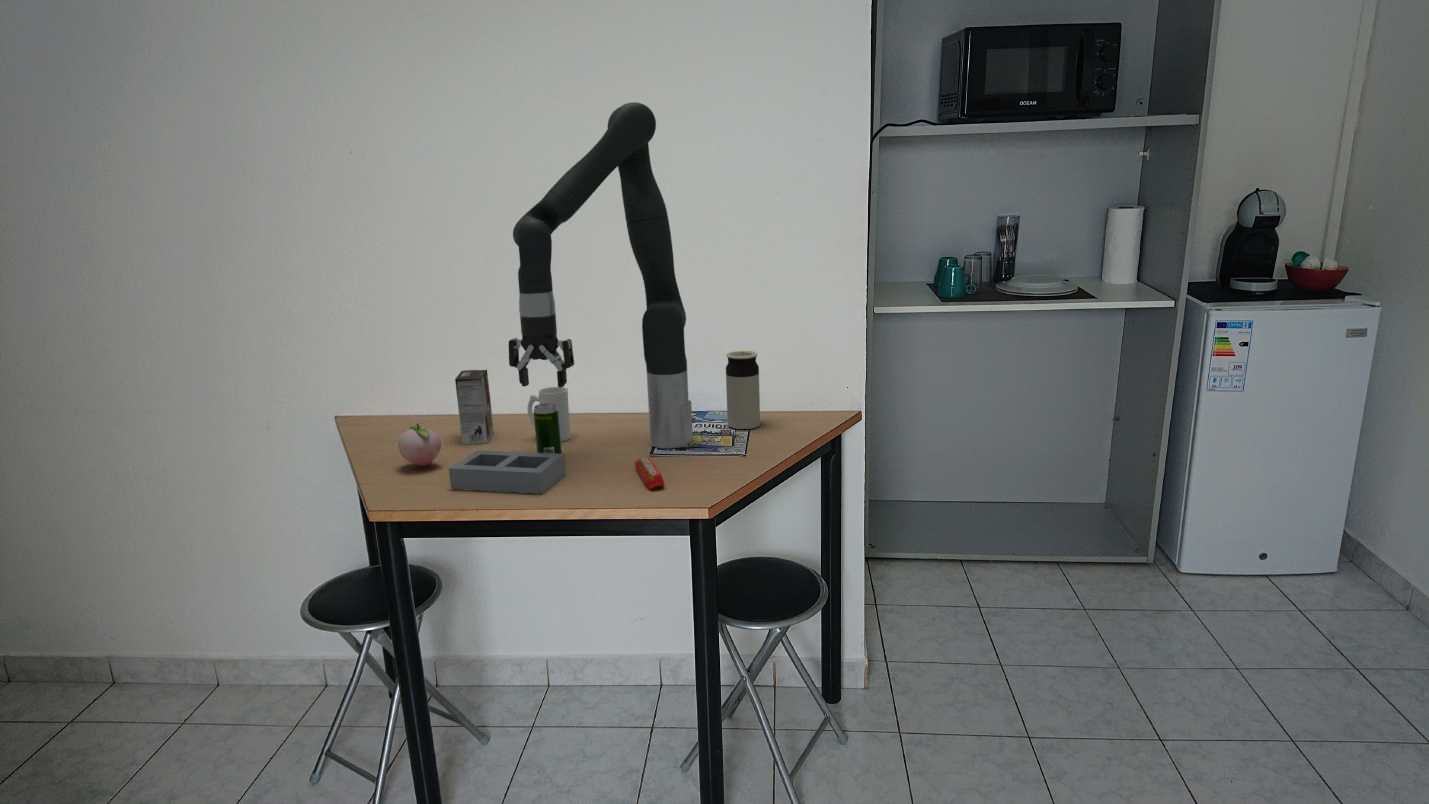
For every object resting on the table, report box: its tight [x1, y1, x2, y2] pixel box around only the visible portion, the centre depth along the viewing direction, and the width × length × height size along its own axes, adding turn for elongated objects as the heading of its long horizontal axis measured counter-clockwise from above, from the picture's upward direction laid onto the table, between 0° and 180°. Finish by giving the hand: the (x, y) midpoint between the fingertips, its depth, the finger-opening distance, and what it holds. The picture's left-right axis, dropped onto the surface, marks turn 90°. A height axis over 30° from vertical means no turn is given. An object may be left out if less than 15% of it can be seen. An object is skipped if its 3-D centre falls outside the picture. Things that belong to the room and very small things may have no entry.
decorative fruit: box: [397, 422, 442, 468], centre depth 196 cm, size 9×8×10 cm
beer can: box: [533, 403, 563, 454], centre depth 199 cm, size 5×5×12 cm
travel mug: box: [725, 350, 761, 430], centre depth 217 cm, size 8×8×18 cm
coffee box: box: [454, 369, 495, 445], centre depth 215 cm, size 9×6×16 cm
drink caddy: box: [448, 449, 566, 495], centre depth 185 cm, size 20×12×4 cm, turn 76°
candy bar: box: [634, 456, 665, 490], centre depth 185 cm, size 16×4×3 cm, turn 15°
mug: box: [527, 386, 571, 442], centre depth 213 cm, size 10×7×12 cm, turn 81°
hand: (543, 386), depth 196 cm, fingers open, 8 cm apart
